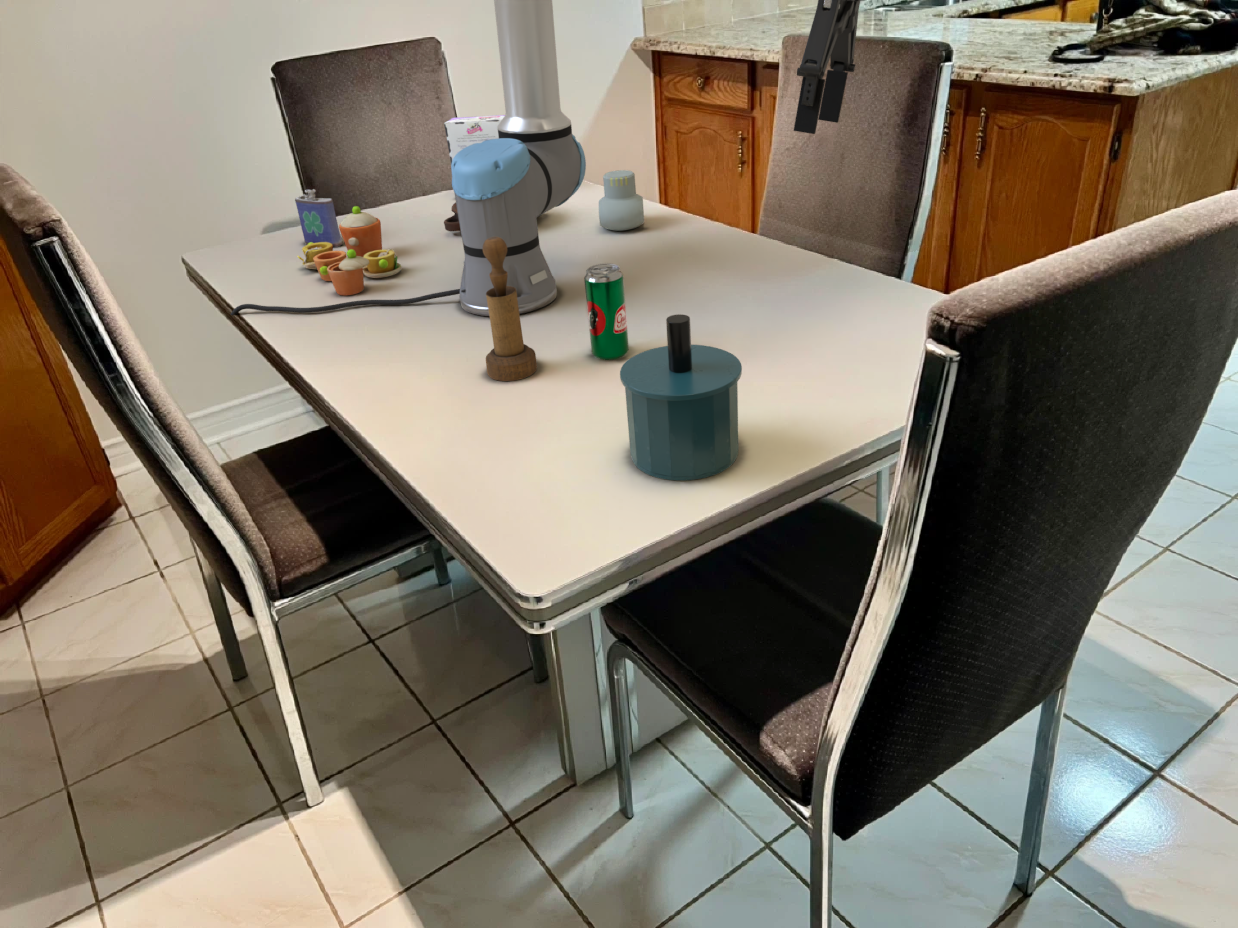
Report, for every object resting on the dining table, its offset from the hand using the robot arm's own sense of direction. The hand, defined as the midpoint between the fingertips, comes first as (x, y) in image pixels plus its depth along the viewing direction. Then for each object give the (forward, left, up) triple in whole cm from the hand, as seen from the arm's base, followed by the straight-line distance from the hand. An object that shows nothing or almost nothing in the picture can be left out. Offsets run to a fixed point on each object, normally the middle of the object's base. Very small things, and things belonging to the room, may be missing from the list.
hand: (816, 126), depth 127 cm
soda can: (-20, -26, -25) cm, 42 cm away
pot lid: (-1, -48, -15) cm, 51 cm away
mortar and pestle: (-31, -35, -25) cm, 53 cm away
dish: (-70, +25, -25) cm, 78 cm away
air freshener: (-45, +29, -25) cm, 59 cm away
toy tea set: (-81, -6, -25) cm, 85 cm away
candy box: (-86, +46, -25) cm, 100 cm away
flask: (-100, +7, -25) cm, 103 cm away
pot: (-1, -48, -25) cm, 54 cm away
